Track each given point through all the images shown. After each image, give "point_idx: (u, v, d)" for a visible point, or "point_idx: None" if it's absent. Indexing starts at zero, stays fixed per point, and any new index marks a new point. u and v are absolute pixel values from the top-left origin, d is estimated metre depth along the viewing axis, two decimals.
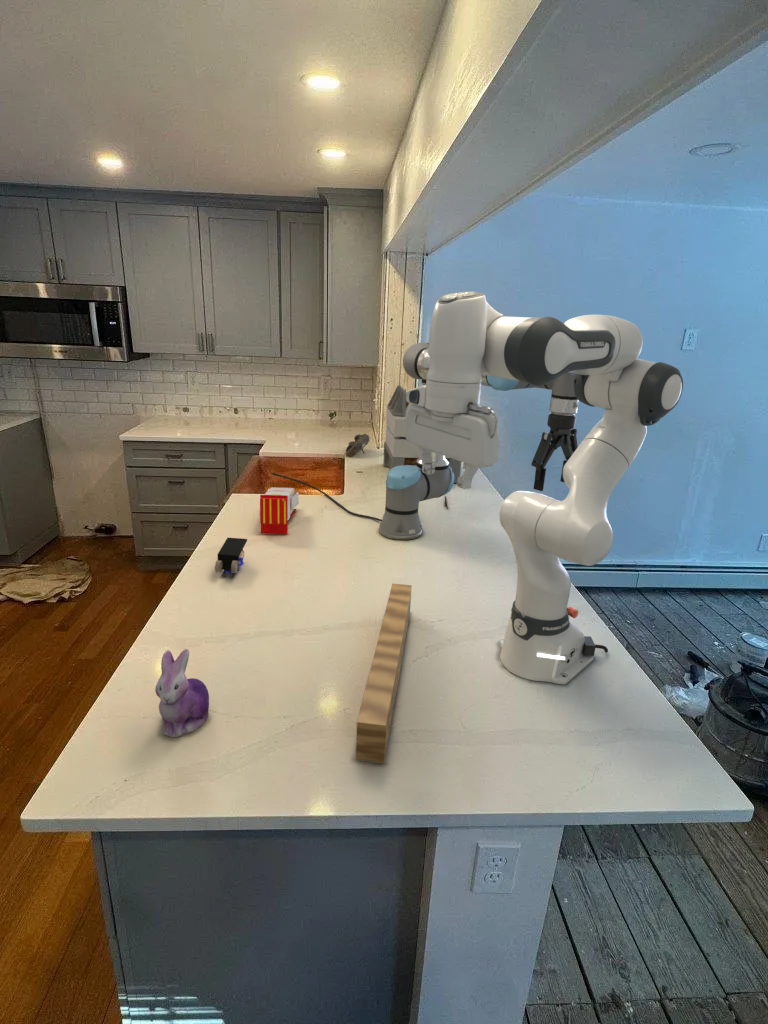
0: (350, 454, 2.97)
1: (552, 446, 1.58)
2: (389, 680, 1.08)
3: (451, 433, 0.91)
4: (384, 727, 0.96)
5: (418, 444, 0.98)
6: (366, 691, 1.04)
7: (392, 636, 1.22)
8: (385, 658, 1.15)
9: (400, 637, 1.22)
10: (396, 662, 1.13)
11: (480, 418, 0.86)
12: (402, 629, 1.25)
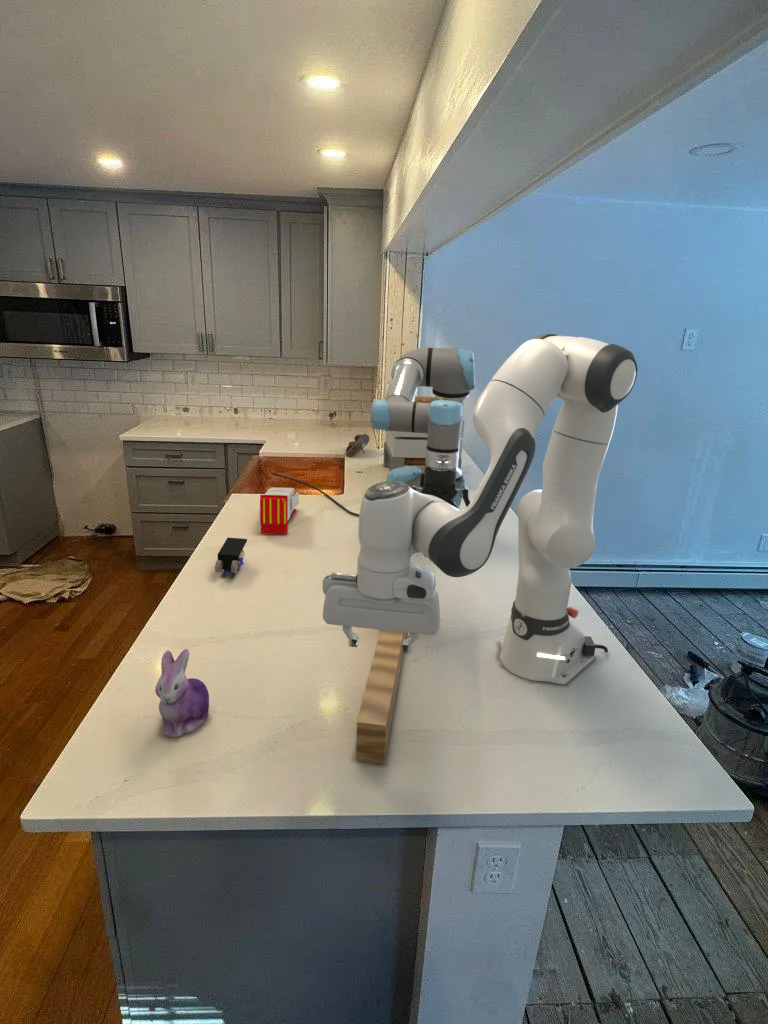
0: (350, 454, 2.97)
1: None
2: (389, 680, 1.08)
3: None
4: (384, 727, 0.96)
5: None
6: (366, 691, 1.04)
7: (392, 636, 1.22)
8: (385, 658, 1.15)
9: (400, 637, 1.22)
10: (396, 662, 1.13)
11: None
12: None
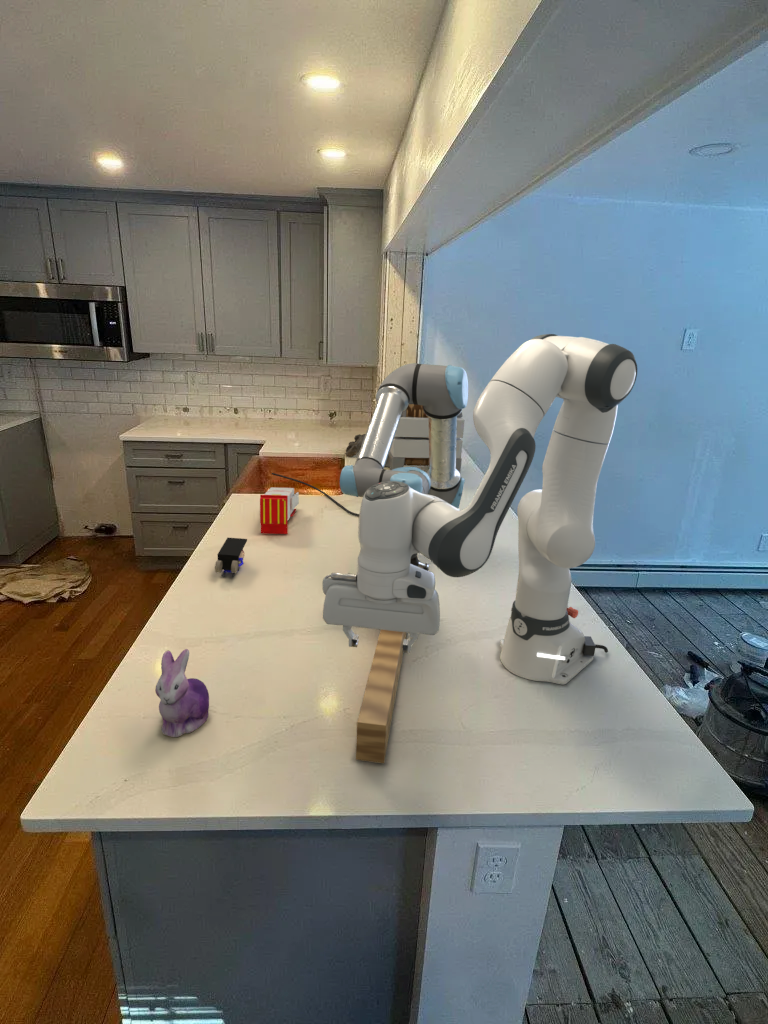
0: (350, 454, 2.97)
1: None
2: (389, 680, 1.08)
3: None
4: (384, 727, 0.96)
5: None
6: (366, 691, 1.04)
7: (392, 636, 1.22)
8: (385, 658, 1.15)
9: (400, 637, 1.22)
10: (396, 662, 1.13)
11: None
12: None
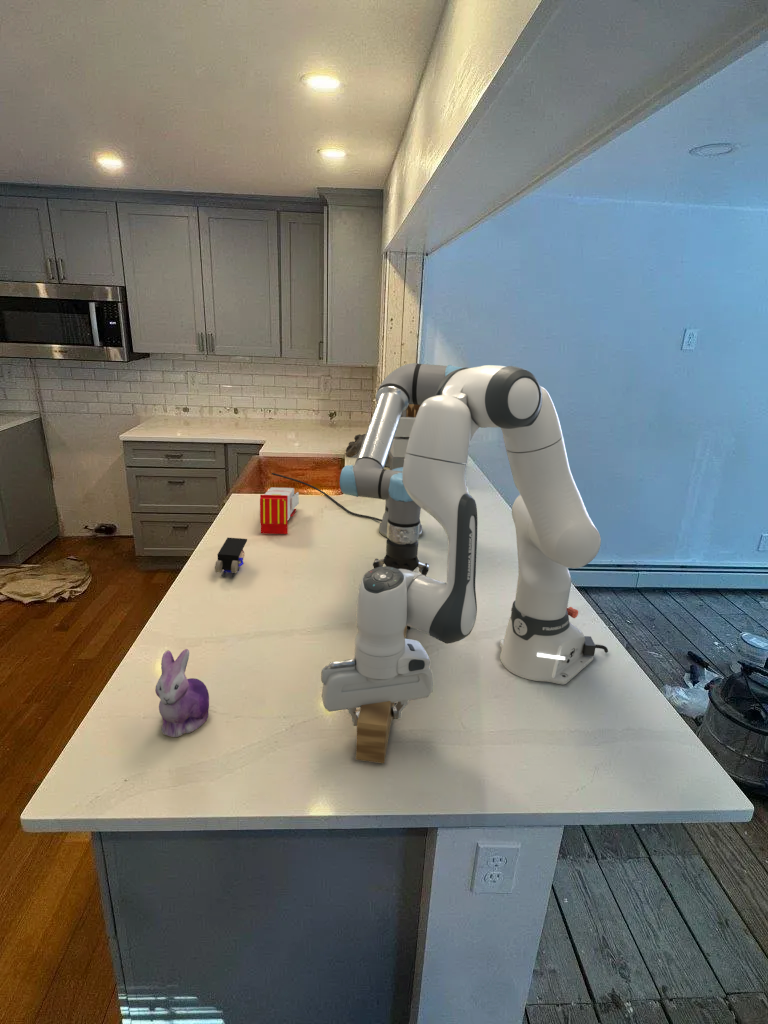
0: (350, 454, 2.97)
1: None
2: None
3: None
4: (384, 727, 0.96)
5: None
6: None
7: None
8: None
9: None
10: None
11: None
12: None
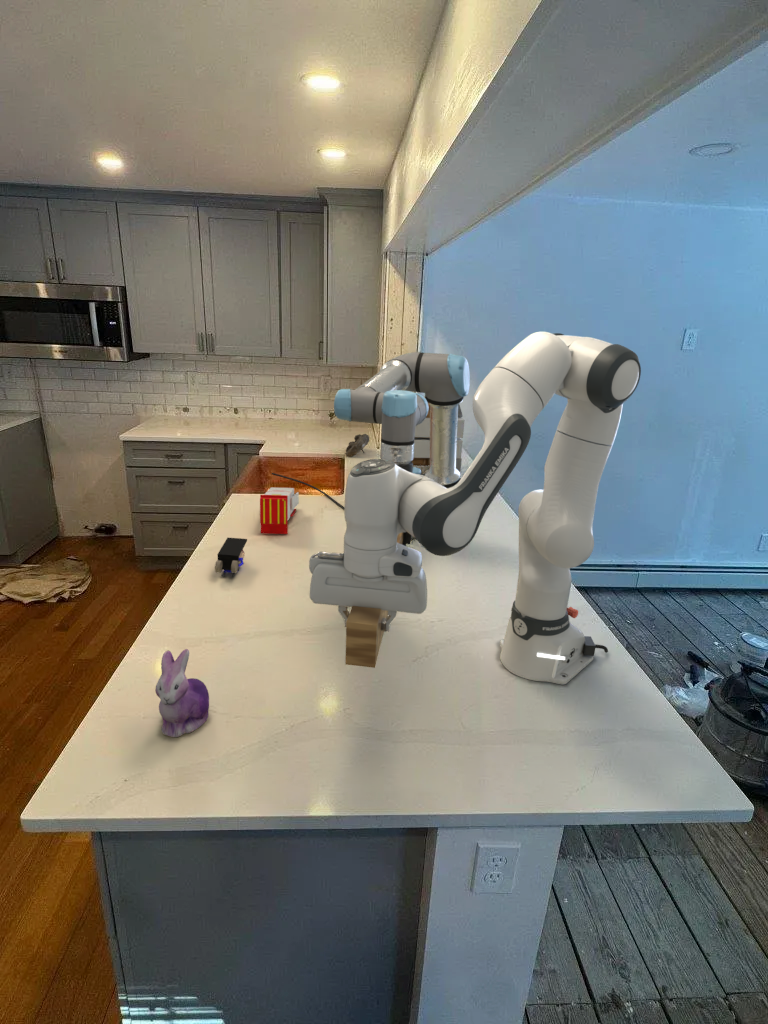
0: (350, 454, 2.97)
1: None
2: None
3: None
4: (375, 627, 0.91)
5: None
6: None
7: None
8: None
9: None
10: None
11: None
12: None
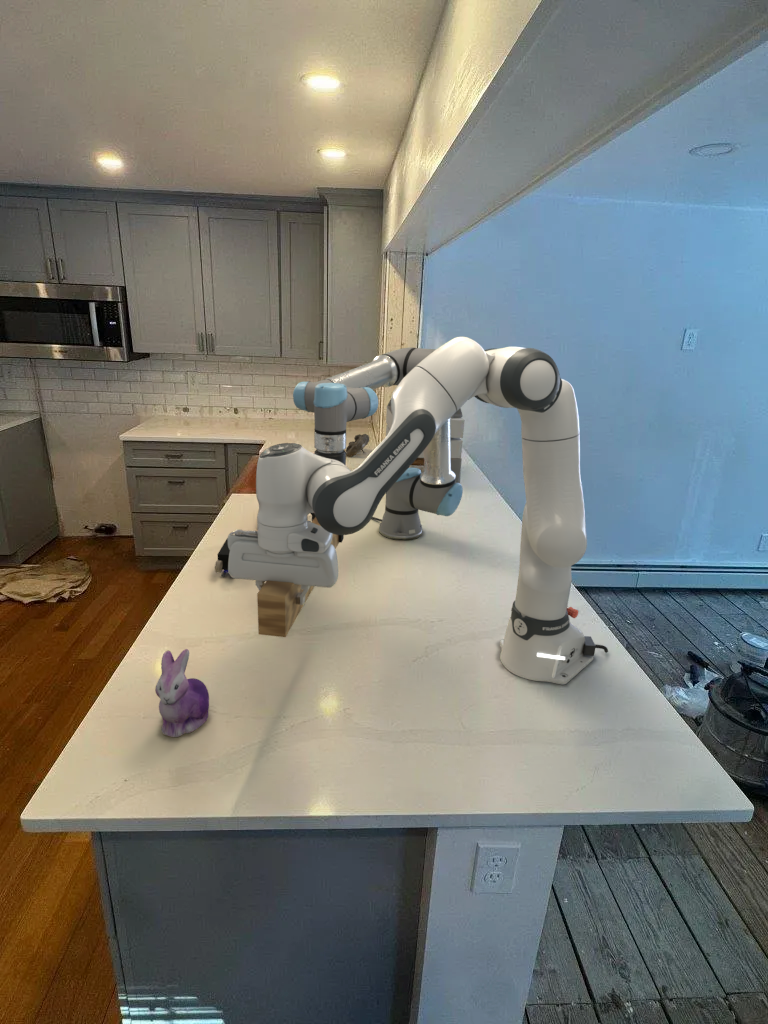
0: (350, 454, 2.97)
1: None
2: None
3: None
4: (283, 598, 0.98)
5: None
6: None
7: None
8: None
9: None
10: None
11: None
12: None
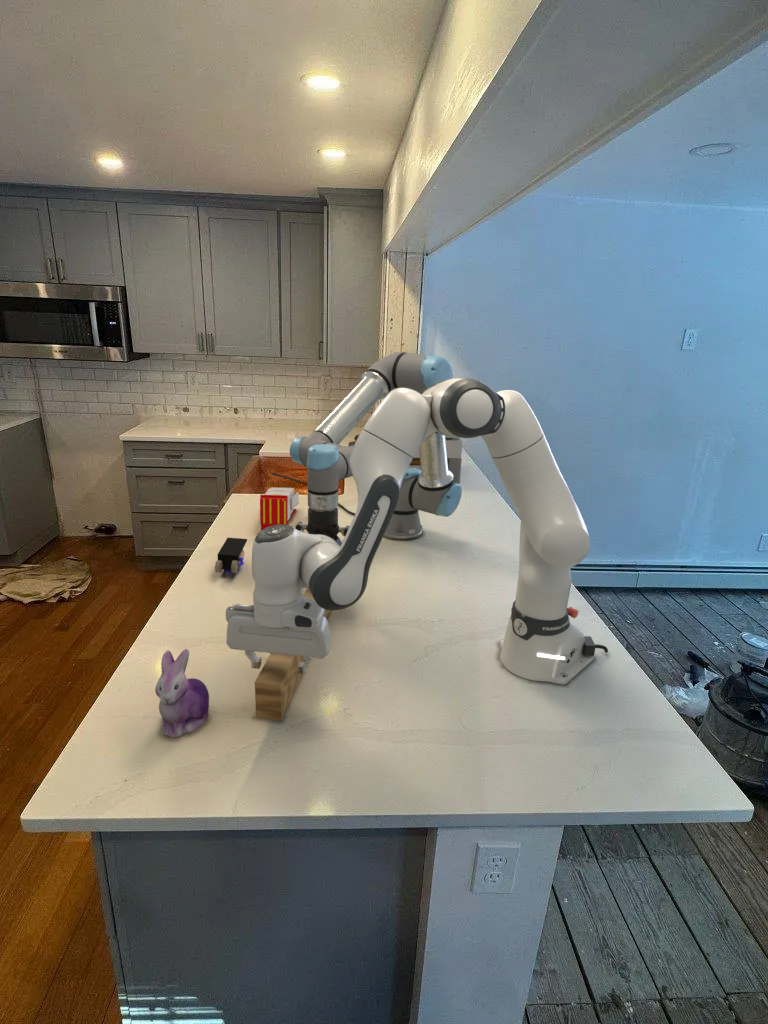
0: None
1: None
2: None
3: None
4: (279, 686, 1.05)
5: None
6: (270, 656, 1.13)
7: None
8: None
9: None
10: None
11: None
12: None
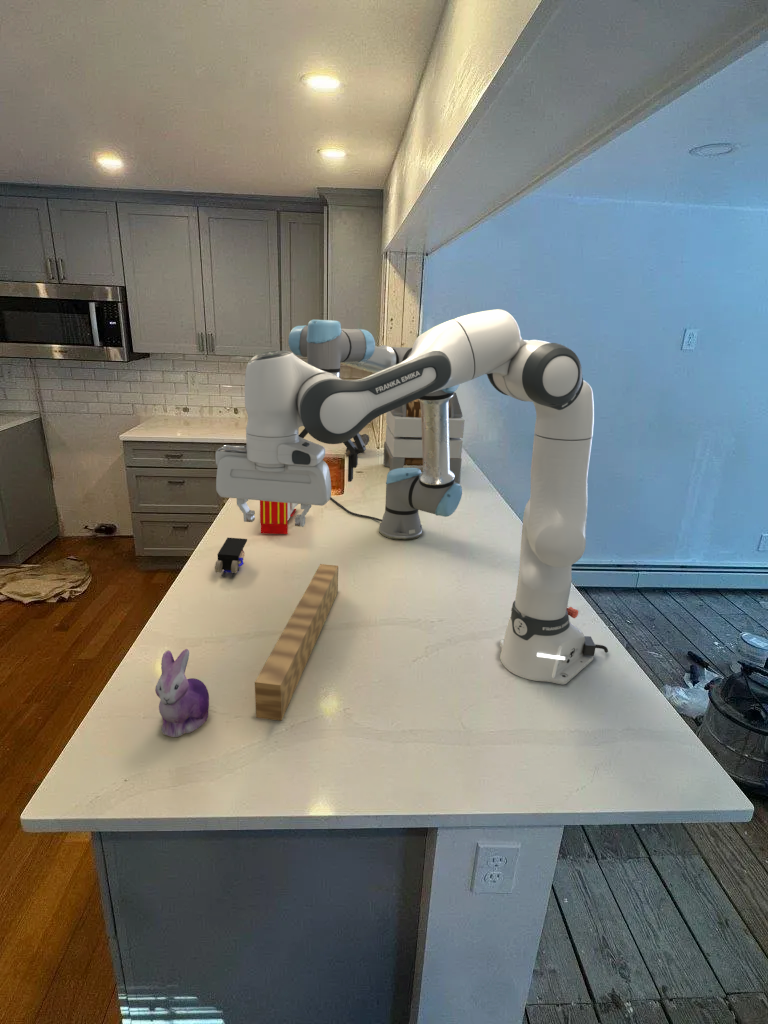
0: None
1: None
2: (294, 647, 1.17)
3: None
4: (279, 686, 1.05)
5: None
6: (270, 656, 1.13)
7: (307, 609, 1.31)
8: (295, 628, 1.24)
9: (314, 610, 1.31)
10: (305, 632, 1.22)
11: None
12: (318, 604, 1.34)
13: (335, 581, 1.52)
